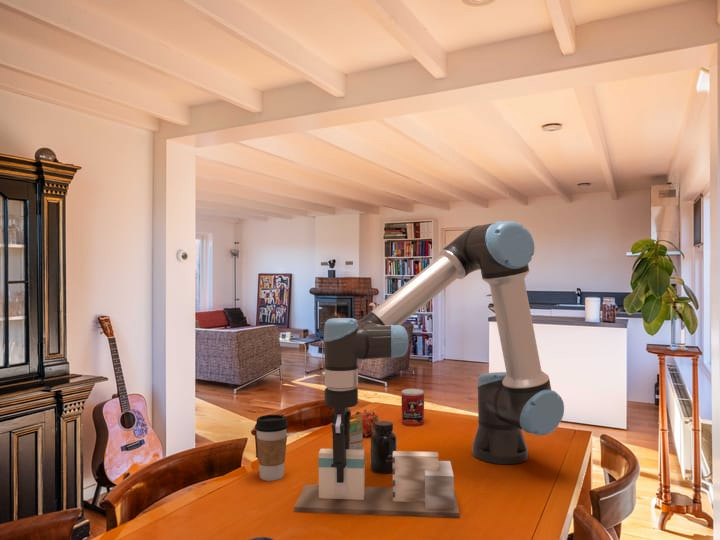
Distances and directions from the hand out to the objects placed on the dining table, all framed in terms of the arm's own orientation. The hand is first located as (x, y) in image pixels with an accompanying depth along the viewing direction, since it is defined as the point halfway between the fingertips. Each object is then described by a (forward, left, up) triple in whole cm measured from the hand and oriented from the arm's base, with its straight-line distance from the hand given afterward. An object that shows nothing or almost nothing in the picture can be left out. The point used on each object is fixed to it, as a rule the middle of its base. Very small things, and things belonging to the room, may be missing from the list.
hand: (342, 491), depth 116 cm
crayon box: (+2, -29, -2) cm, 29 cm away
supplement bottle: (-8, -20, -2) cm, 22 cm away
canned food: (-16, -63, -2) cm, 65 cm away
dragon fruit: (0, -48, -2) cm, 48 cm away
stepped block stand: (-8, 0, -2) cm, 8 cm away
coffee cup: (+20, -13, -2) cm, 24 cm away
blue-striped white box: (0, 0, -1) cm, 1 cm away
